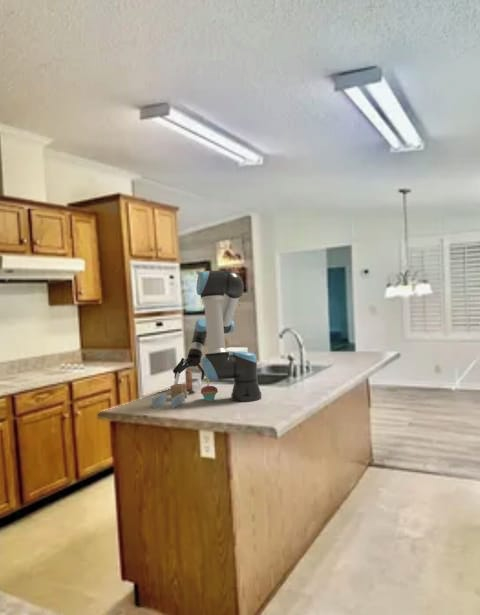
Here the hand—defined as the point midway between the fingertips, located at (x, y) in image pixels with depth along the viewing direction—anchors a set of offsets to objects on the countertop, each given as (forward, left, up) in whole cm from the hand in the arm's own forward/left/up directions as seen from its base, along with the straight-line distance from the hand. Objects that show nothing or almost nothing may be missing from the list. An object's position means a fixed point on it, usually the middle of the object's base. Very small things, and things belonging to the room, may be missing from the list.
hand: (187, 384), depth 261 cm
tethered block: (-2, +4, -5) cm, 7 cm away
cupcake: (-21, +3, -5) cm, 22 cm away
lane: (-13, +22, -5) cm, 26 cm away
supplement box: (+11, -45, -5) cm, 46 cm away
